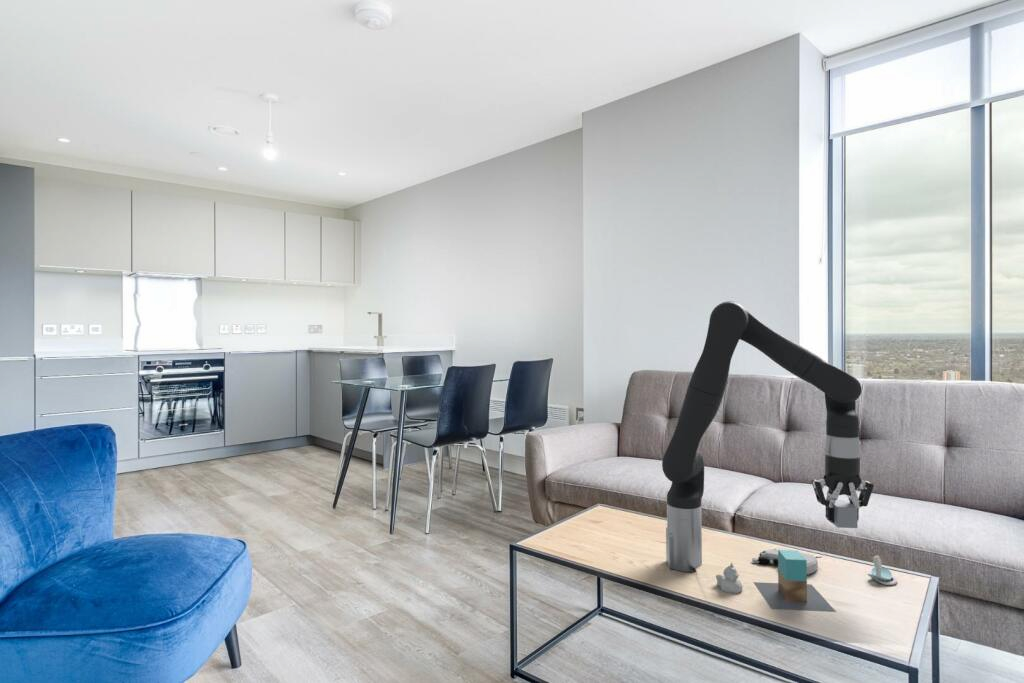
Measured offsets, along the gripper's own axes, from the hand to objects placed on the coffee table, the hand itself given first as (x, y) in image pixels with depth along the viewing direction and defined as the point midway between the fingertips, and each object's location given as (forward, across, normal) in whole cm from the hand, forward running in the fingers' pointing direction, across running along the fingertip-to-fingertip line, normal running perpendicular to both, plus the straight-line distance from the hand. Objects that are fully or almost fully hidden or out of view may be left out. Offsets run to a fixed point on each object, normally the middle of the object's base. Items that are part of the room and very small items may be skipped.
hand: (842, 521), depth 140 cm
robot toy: (+18, -9, +13) cm, 24 cm away
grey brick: (+1, 0, 0) cm, 1 cm away
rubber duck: (+18, -28, -3) cm, 33 cm away
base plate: (+18, -14, -6) cm, 23 cm away
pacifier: (+18, +13, +8) cm, 24 cm away
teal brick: (+11, -14, -6) cm, 19 cm away
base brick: (+16, -14, -6) cm, 22 cm away
